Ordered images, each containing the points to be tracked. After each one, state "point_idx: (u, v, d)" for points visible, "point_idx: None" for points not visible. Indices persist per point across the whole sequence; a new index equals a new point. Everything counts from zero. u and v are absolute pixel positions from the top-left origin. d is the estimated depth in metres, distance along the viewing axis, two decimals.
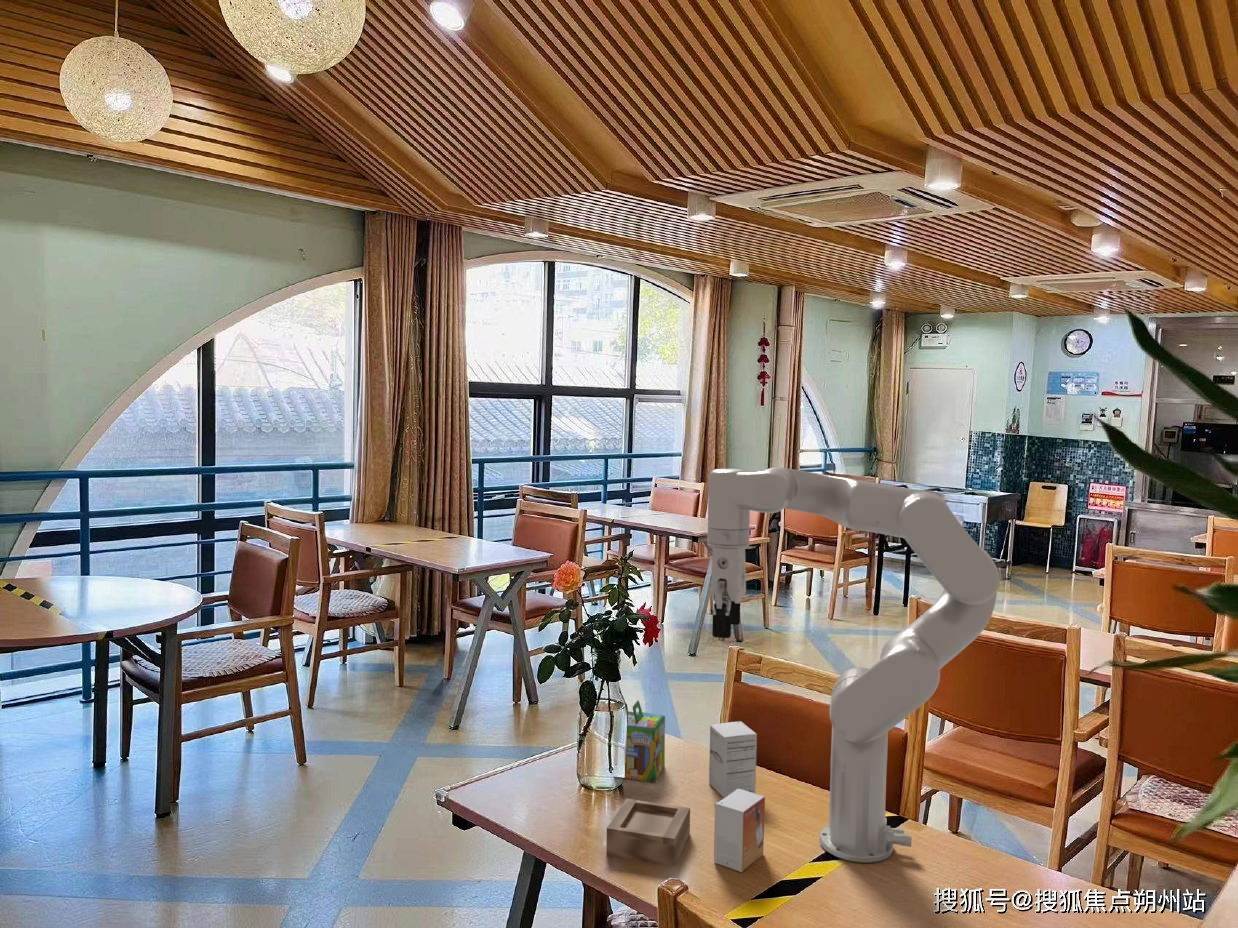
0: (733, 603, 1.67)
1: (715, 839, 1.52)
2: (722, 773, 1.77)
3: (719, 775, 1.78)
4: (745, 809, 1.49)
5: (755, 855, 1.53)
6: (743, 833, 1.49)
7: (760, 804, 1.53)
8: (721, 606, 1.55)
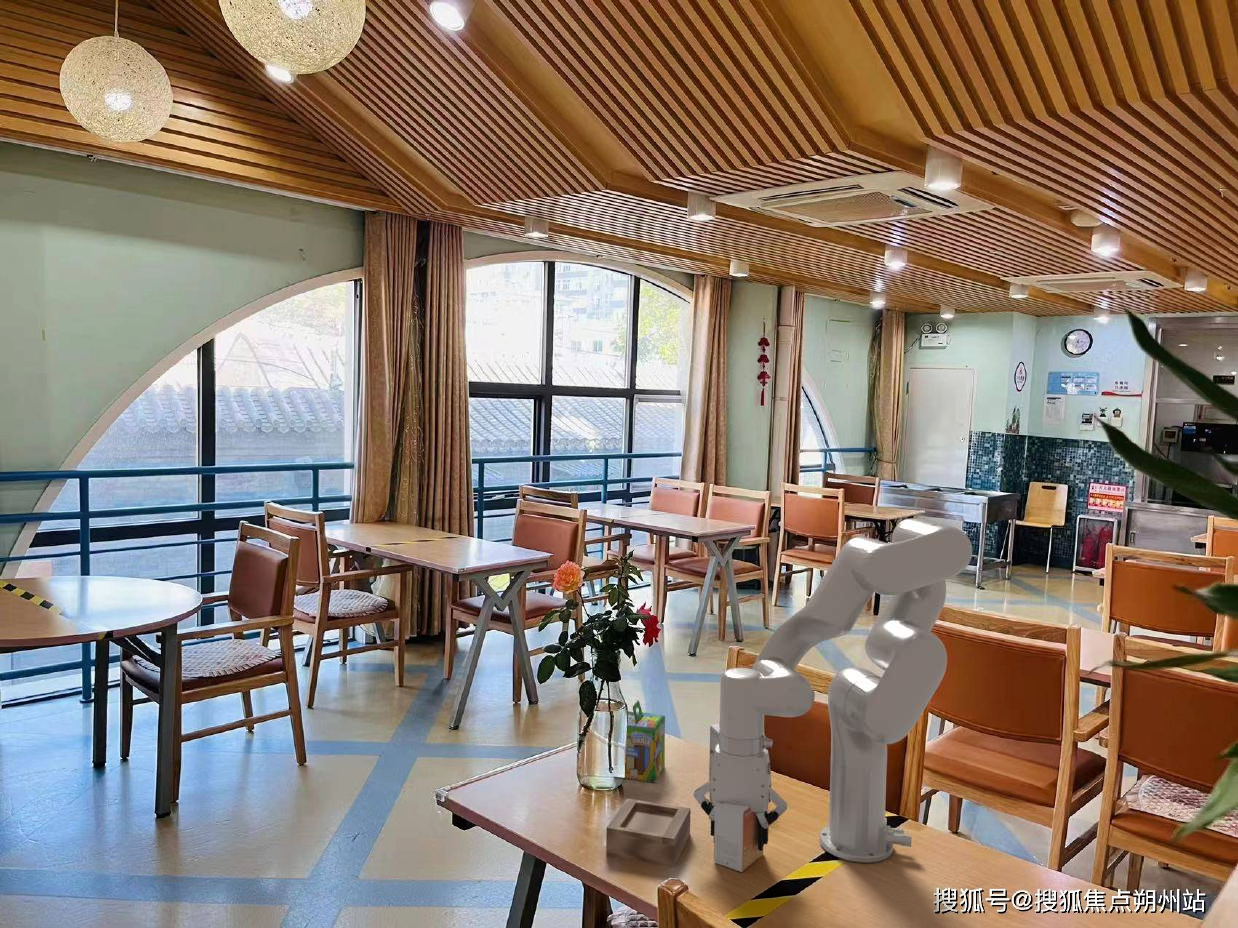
0: None
1: (715, 839, 1.52)
2: None
3: None
4: (745, 809, 1.49)
5: (755, 855, 1.53)
6: (743, 832, 1.49)
7: None
8: None
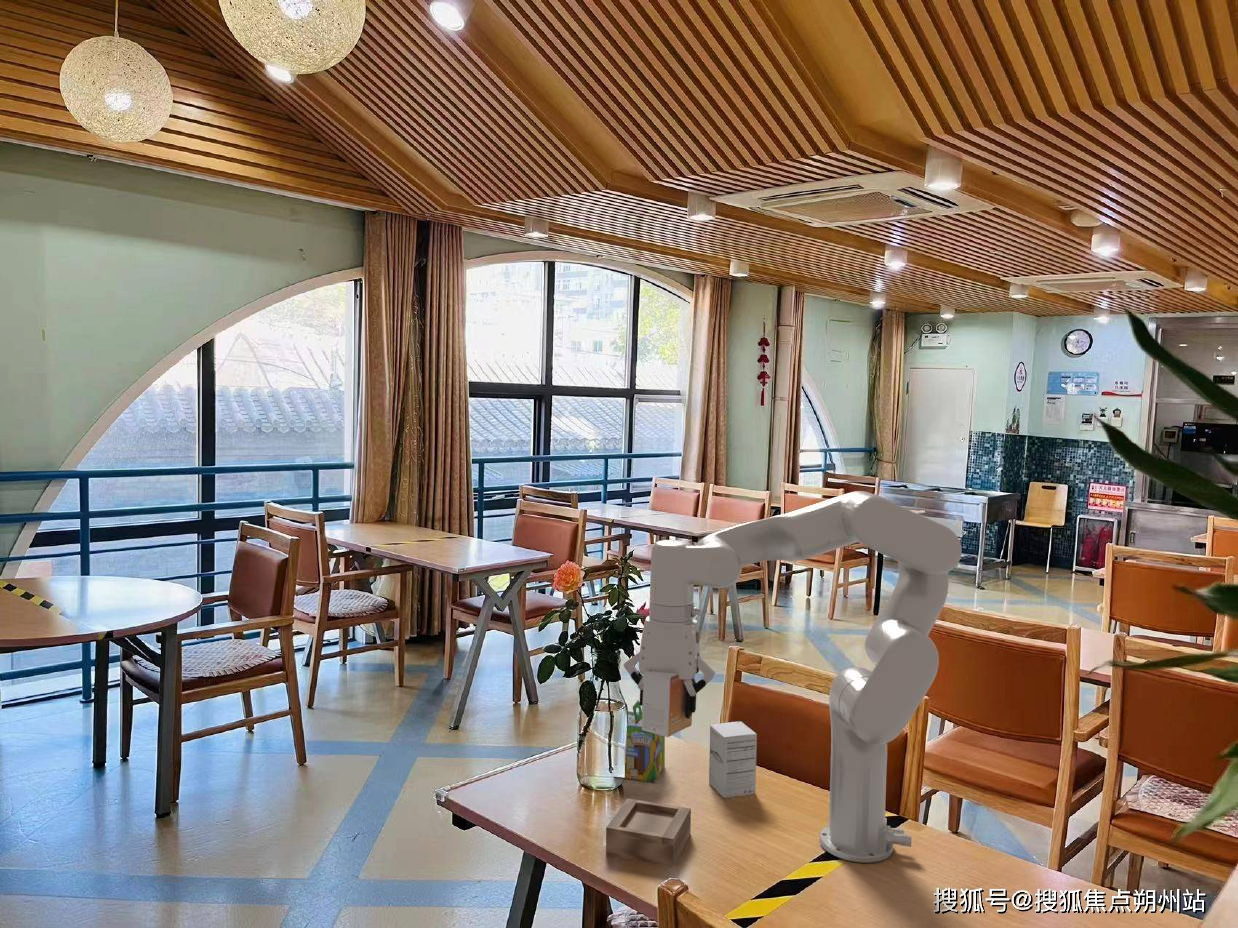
0: None
1: (643, 707, 1.54)
2: (722, 773, 1.77)
3: (719, 775, 1.78)
4: (672, 676, 1.51)
5: (683, 724, 1.55)
6: (670, 698, 1.51)
7: None
8: None
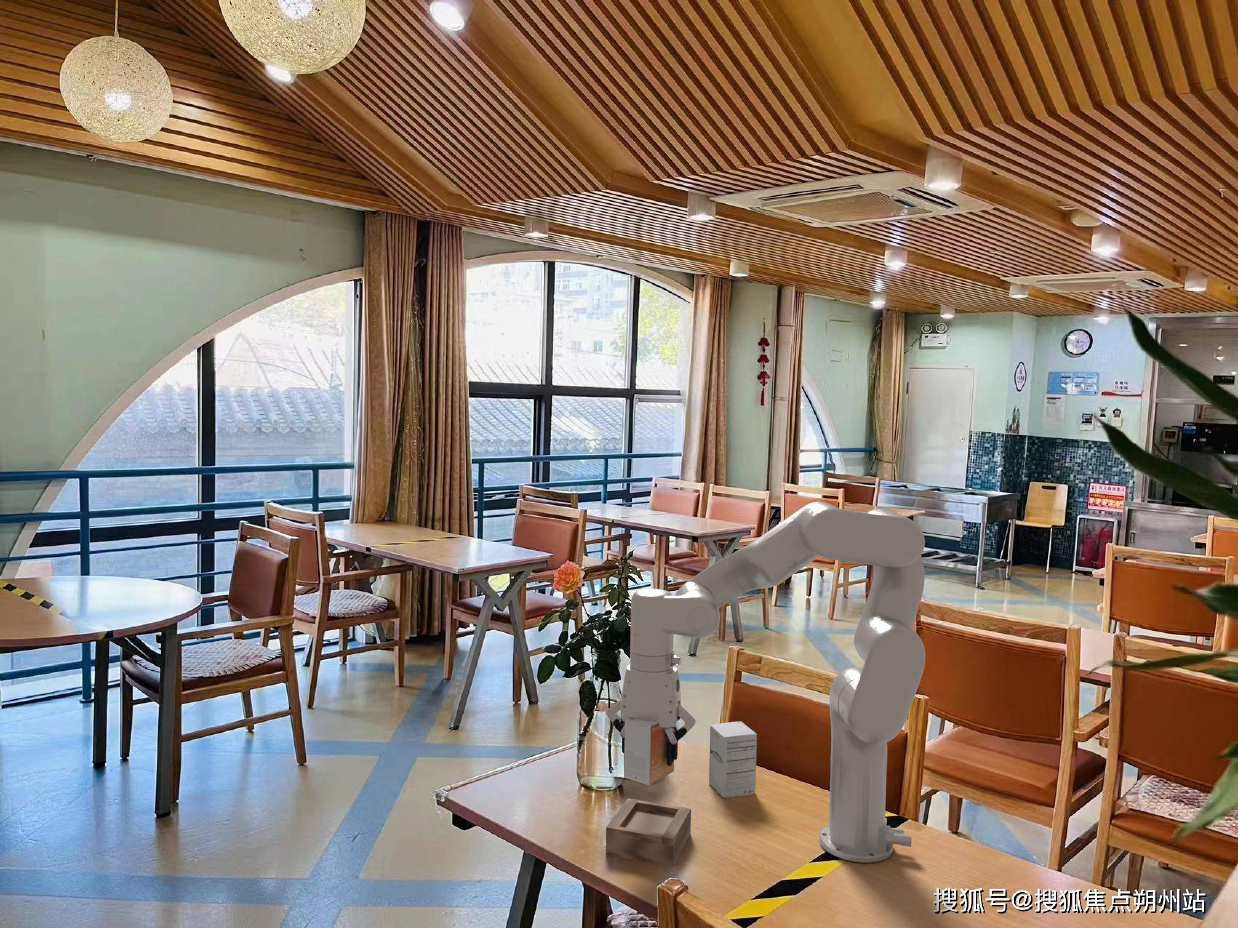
0: None
1: (625, 754, 1.56)
2: (722, 773, 1.77)
3: (719, 775, 1.78)
4: (653, 724, 1.53)
5: (664, 771, 1.57)
6: (651, 747, 1.53)
7: None
8: None
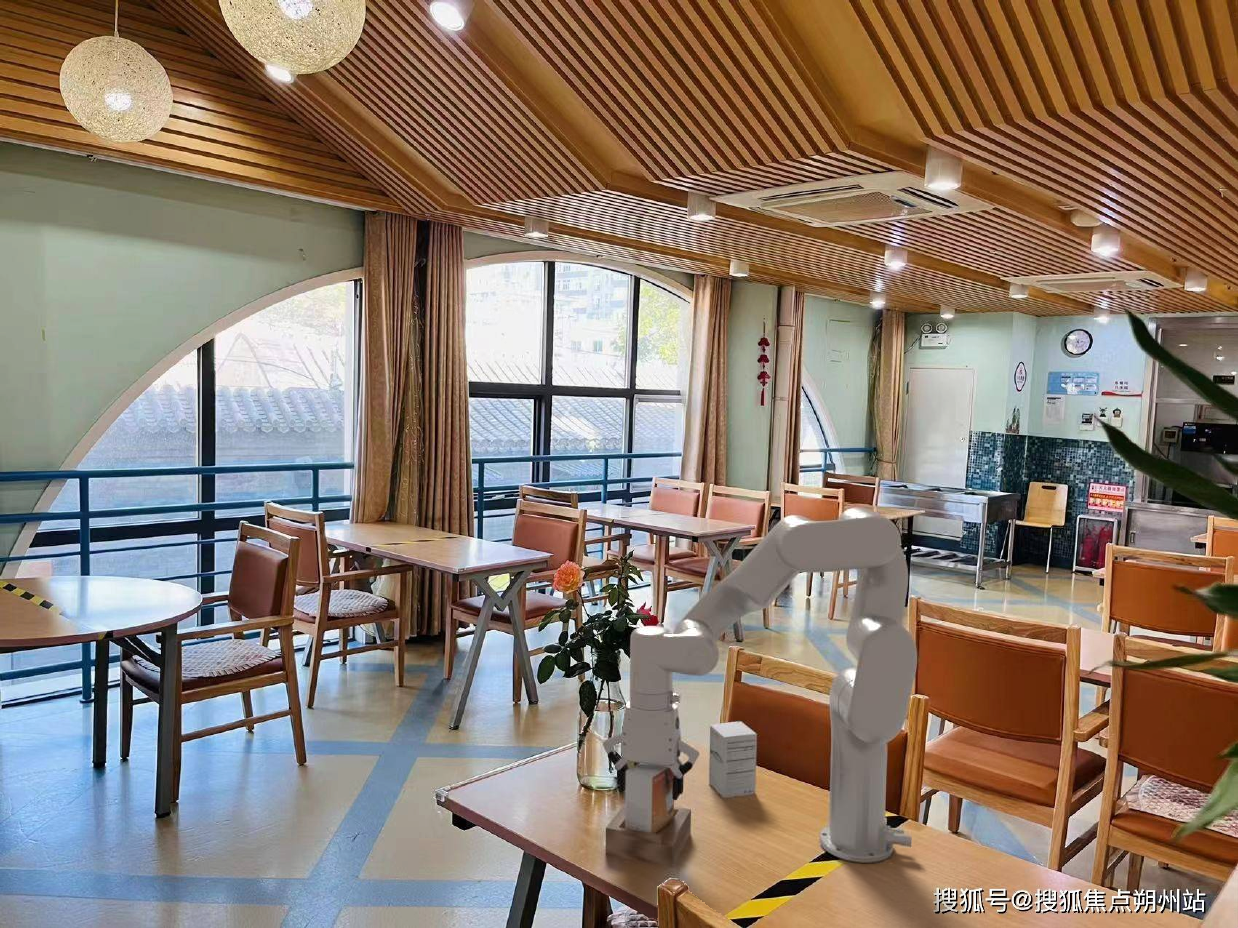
0: (625, 766, 1.59)
1: (626, 805, 1.56)
2: (722, 773, 1.77)
3: (719, 775, 1.78)
4: (654, 775, 1.54)
5: (665, 821, 1.57)
6: (652, 797, 1.53)
7: (670, 770, 1.58)
8: None
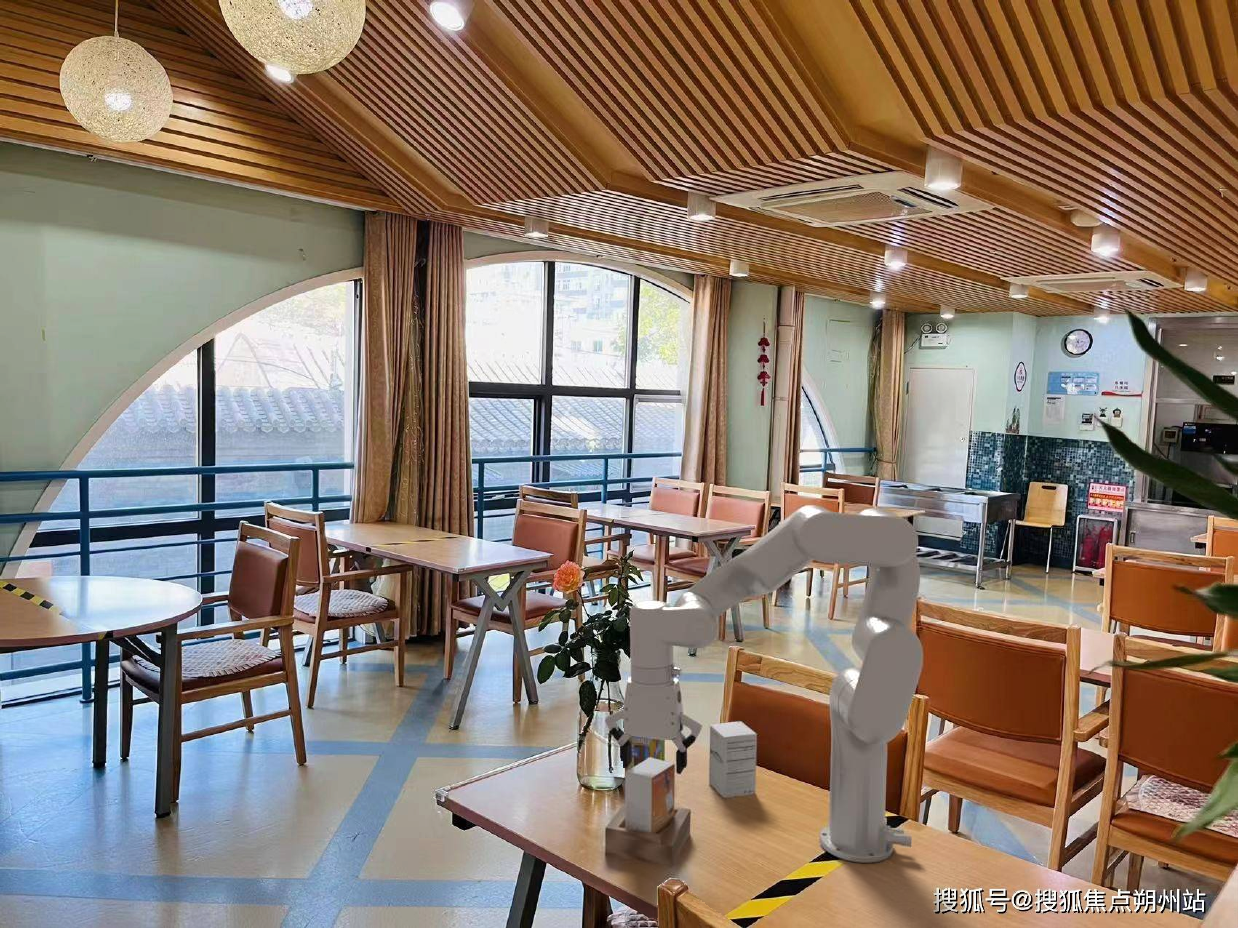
0: (629, 742, 1.59)
1: (626, 806, 1.56)
2: (722, 773, 1.77)
3: (719, 775, 1.78)
4: (653, 775, 1.54)
5: (665, 821, 1.57)
6: (652, 798, 1.53)
7: (670, 771, 1.58)
8: None
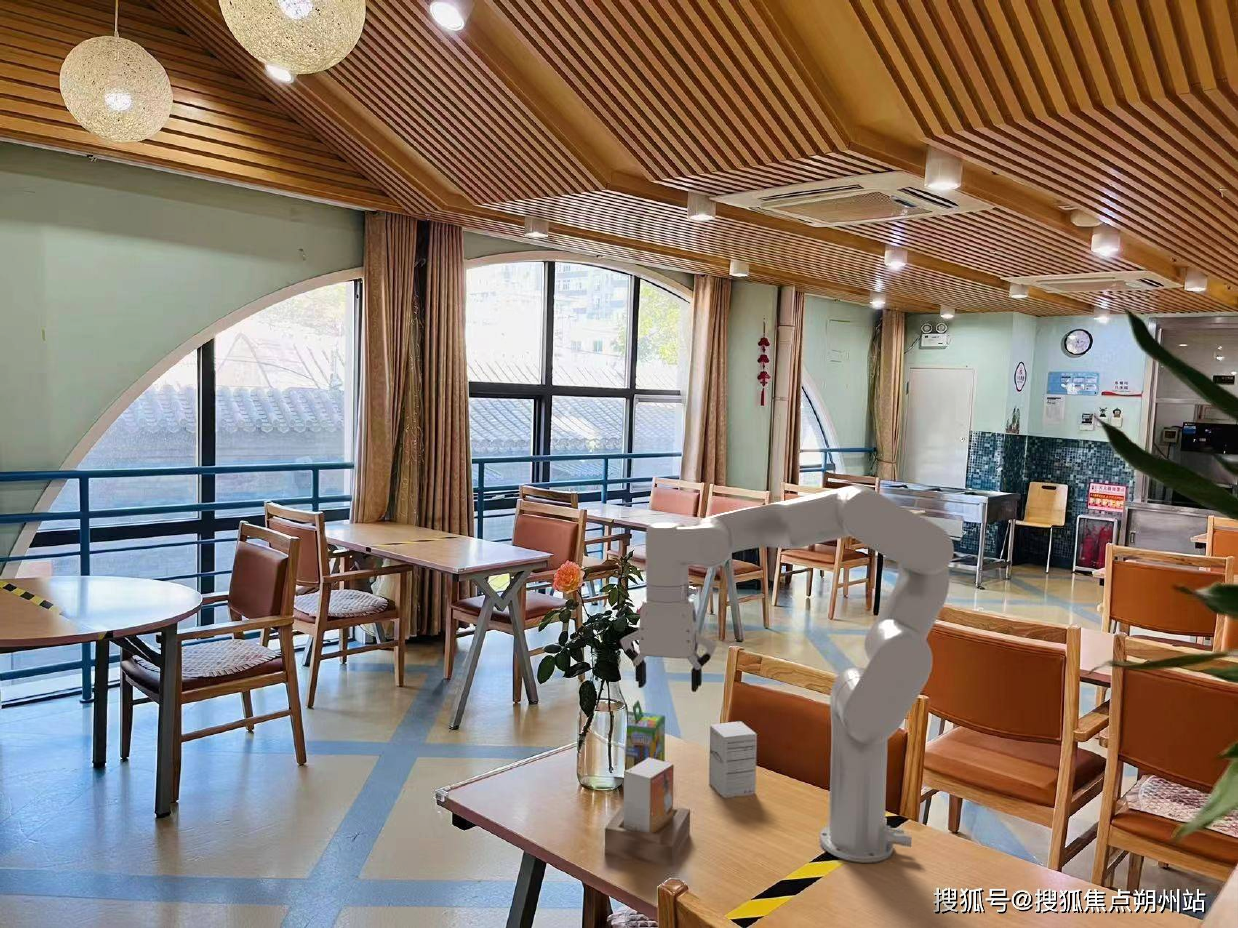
0: (643, 663, 1.61)
1: (624, 806, 1.56)
2: (722, 773, 1.77)
3: (719, 775, 1.78)
4: (652, 776, 1.54)
5: (664, 821, 1.57)
6: (650, 798, 1.53)
7: (669, 771, 1.58)
8: None
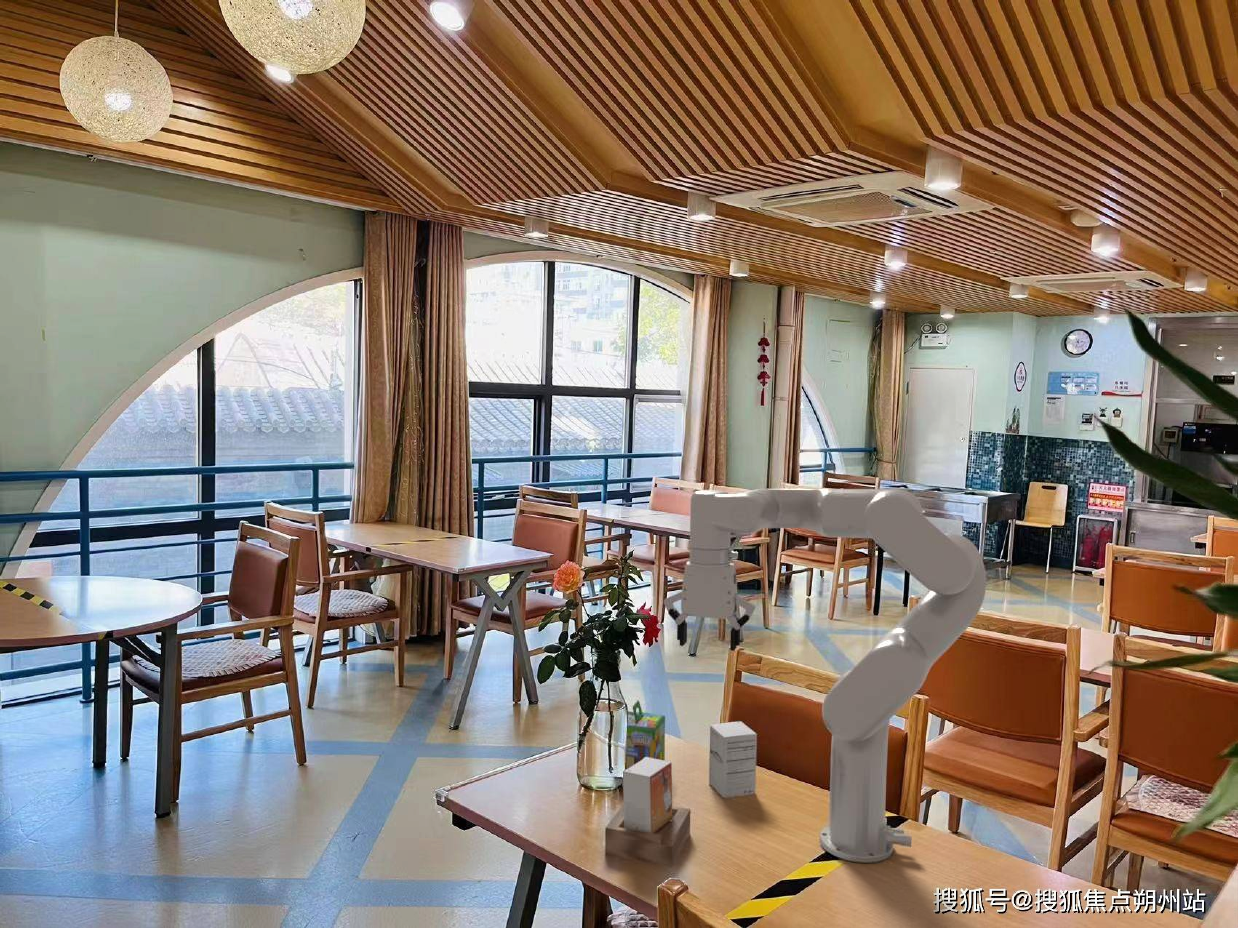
0: (685, 623, 1.70)
1: (624, 806, 1.56)
2: (722, 773, 1.77)
3: (719, 775, 1.78)
4: (651, 774, 1.54)
5: (664, 819, 1.58)
6: (651, 797, 1.54)
7: (667, 769, 1.58)
8: None
